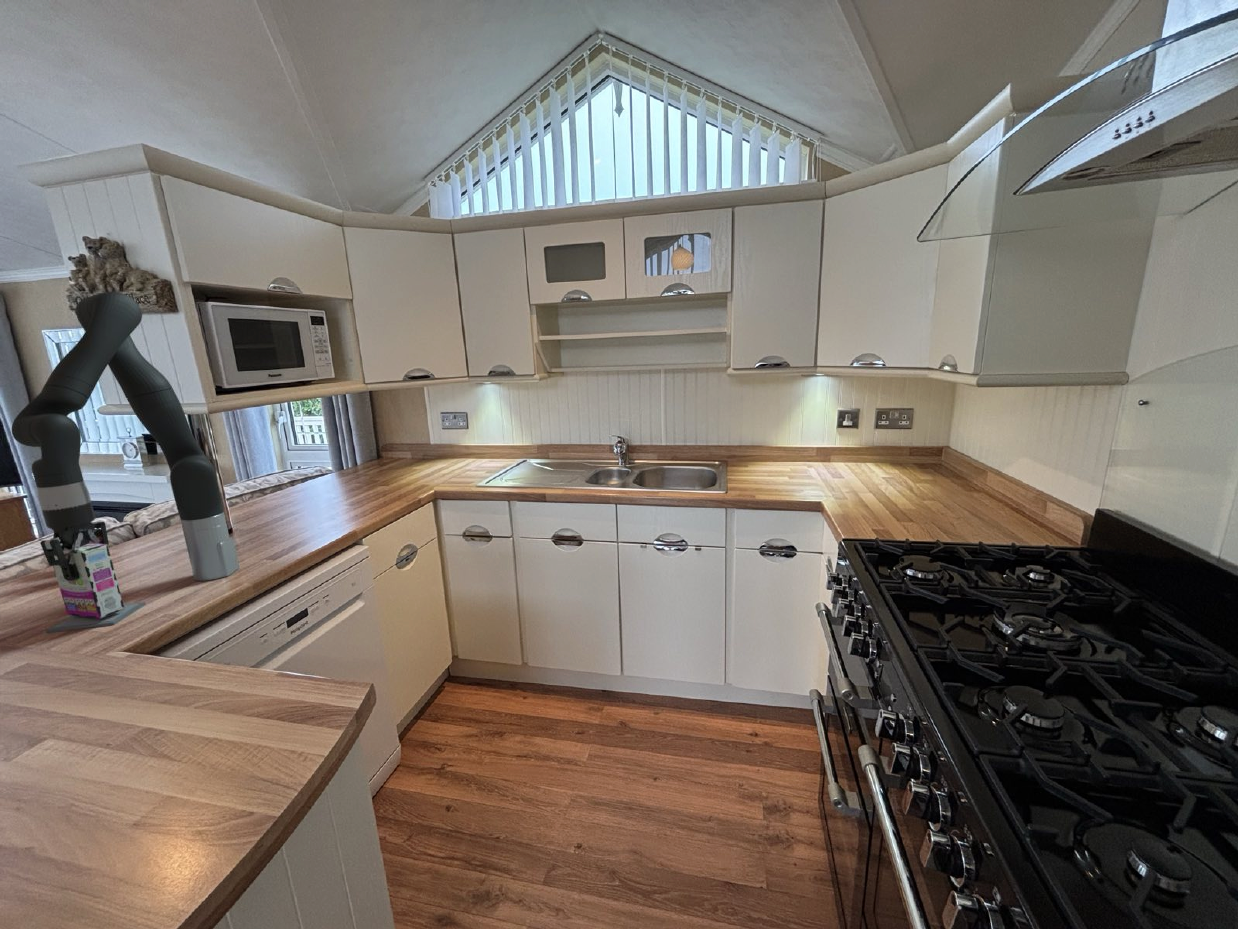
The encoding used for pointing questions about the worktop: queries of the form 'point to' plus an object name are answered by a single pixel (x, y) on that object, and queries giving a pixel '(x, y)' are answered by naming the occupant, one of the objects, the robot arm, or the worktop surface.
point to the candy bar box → (91, 583)
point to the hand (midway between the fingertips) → (86, 573)
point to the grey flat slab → (94, 619)
